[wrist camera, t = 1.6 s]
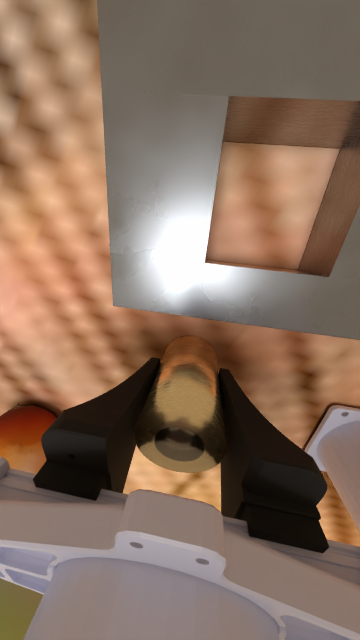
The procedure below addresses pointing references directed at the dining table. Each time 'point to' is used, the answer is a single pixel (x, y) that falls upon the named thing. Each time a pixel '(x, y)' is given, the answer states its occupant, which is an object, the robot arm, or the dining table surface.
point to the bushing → (184, 410)
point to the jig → (205, 148)
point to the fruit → (24, 437)
